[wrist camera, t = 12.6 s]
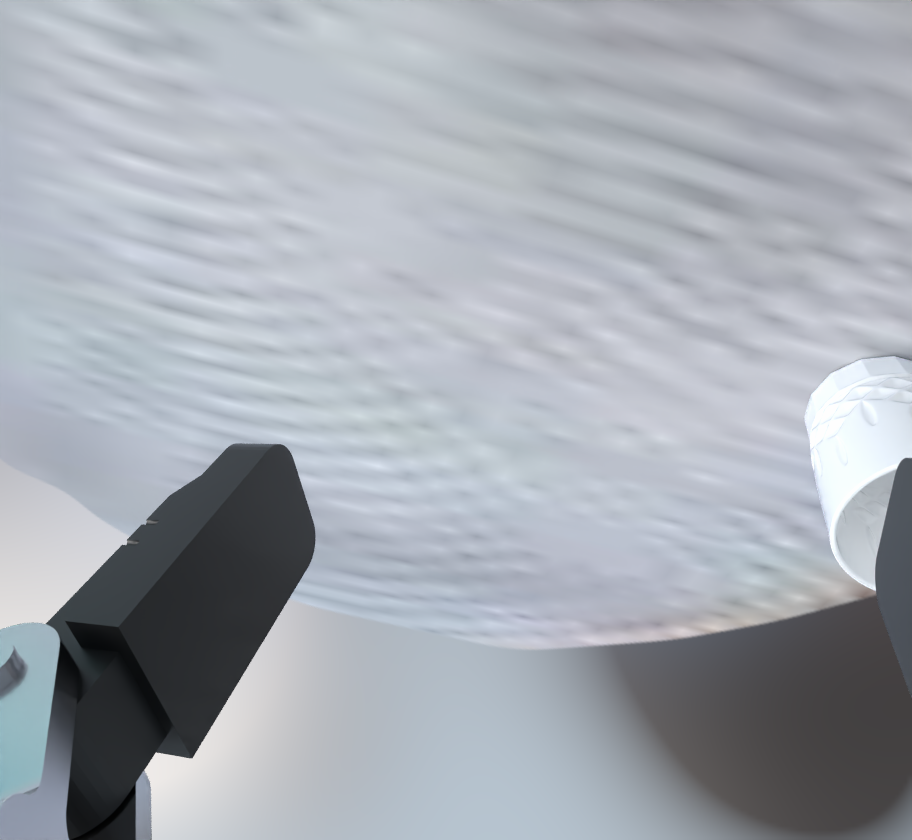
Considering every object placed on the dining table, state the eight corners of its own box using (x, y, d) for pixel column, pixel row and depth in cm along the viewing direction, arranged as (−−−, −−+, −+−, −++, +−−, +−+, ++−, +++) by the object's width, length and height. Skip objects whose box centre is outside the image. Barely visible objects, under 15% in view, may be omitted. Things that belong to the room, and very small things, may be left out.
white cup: (767, 446, 39) (797, 567, 31) (836, 325, 34) (892, 430, 26) (906, 487, 38) (974, 623, 30) (995, 369, 34) (1104, 491, 26)
